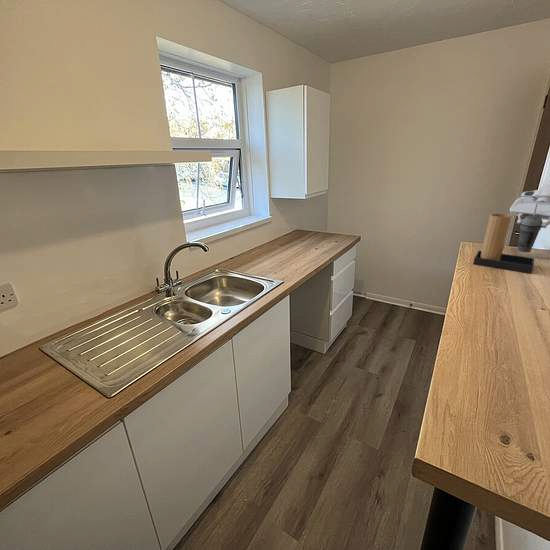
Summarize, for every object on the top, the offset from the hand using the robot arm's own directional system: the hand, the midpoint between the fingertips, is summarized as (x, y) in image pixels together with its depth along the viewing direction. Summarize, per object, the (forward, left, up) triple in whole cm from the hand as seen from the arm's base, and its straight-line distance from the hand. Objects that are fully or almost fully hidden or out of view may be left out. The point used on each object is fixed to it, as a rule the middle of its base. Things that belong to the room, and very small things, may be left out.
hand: (530, 225), depth 126 cm
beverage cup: (0, 0, -12) cm, 12 cm away
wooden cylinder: (+15, +12, -14) cm, 24 cm away
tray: (+11, +13, -14) cm, 22 cm away
